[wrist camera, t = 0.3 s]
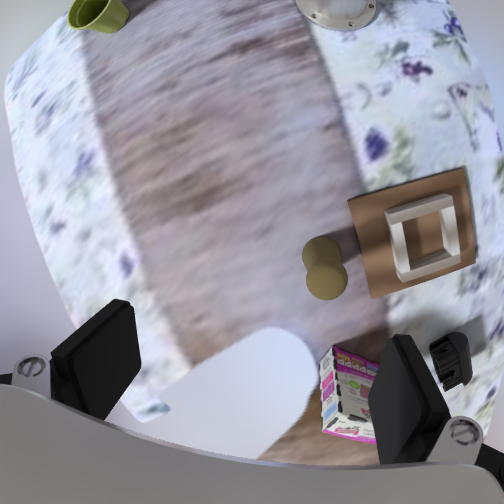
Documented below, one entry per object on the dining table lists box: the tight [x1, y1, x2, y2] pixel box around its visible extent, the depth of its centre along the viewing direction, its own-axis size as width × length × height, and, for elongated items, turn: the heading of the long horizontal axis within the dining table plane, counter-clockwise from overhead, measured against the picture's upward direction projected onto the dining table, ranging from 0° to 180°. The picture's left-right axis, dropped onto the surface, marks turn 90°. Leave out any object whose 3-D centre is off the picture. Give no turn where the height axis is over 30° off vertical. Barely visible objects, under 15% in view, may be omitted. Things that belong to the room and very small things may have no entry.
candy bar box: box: [319, 346, 379, 445], centre depth 43 cm, size 11×5×16 cm, turn 66°
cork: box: [302, 236, 348, 300], centre depth 40 cm, size 6×6×11 cm
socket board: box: [347, 168, 476, 299], centre depth 39 cm, size 16×20×4 cm
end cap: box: [429, 332, 473, 392], centre depth 44 cm, size 10×7×7 cm
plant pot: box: [67, 0, 129, 33], centre depth 33 cm, size 9×9×9 cm
